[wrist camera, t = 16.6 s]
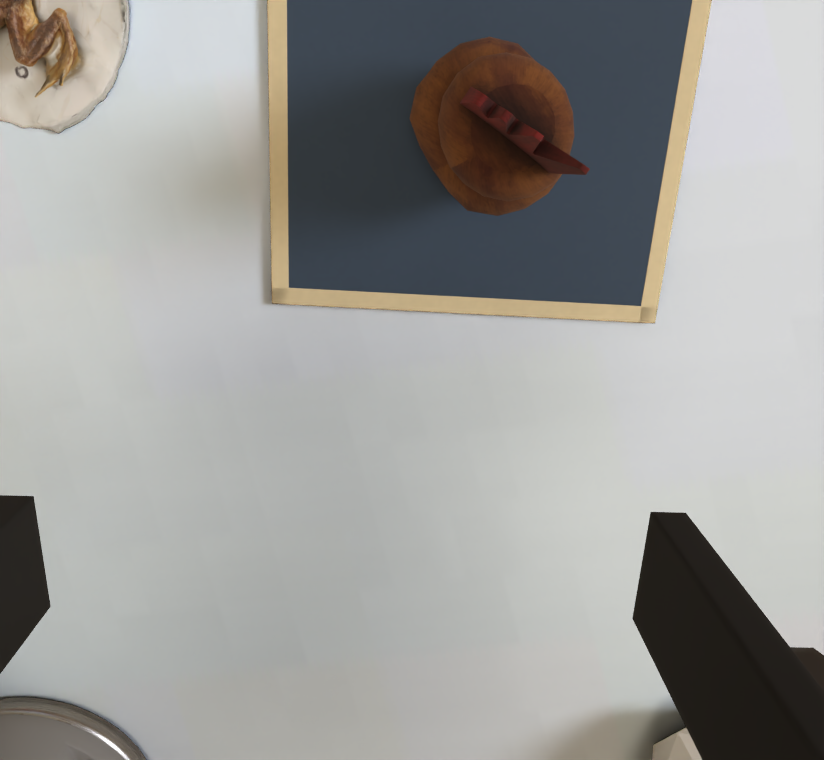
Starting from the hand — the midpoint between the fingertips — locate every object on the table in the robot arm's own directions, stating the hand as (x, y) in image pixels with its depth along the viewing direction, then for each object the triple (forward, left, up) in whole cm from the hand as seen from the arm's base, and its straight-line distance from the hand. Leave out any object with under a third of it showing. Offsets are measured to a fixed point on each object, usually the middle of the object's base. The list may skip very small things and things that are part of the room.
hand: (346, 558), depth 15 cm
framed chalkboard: (+4, +9, -23) cm, 25 cm away
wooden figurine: (+4, +9, -23) cm, 25 cm away
